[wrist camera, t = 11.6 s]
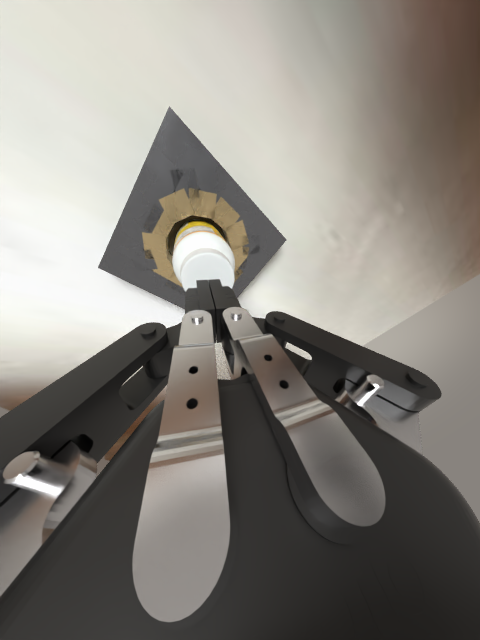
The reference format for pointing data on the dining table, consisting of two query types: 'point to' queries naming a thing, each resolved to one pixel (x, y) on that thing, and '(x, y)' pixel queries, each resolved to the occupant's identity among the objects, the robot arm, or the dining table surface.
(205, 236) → the supplement bottle
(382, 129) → the dining table surface
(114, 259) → the mount plate
